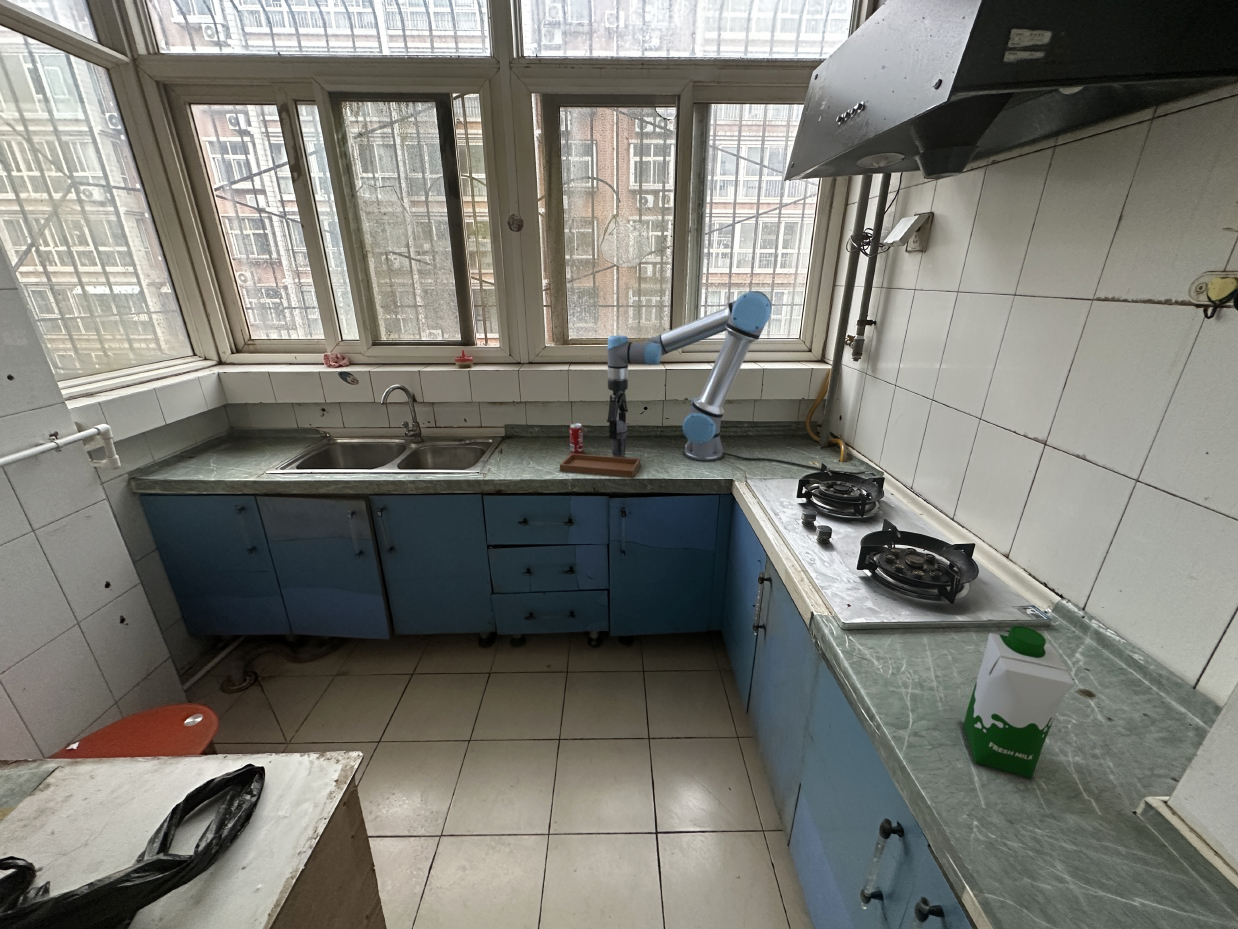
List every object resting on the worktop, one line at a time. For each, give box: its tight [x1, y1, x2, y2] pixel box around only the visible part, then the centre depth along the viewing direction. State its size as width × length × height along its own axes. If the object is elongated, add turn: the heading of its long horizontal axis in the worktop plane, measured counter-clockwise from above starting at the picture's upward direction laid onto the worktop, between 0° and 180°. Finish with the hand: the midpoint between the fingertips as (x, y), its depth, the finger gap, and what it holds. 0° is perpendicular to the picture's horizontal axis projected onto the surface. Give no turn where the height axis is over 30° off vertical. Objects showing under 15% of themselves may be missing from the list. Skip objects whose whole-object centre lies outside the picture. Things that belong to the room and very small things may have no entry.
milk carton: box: [963, 625, 1075, 779], centre depth 72 cm, size 9×9×20 cm
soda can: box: [569, 423, 584, 454], centre depth 200 cm, size 5×5×12 cm
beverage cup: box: [610, 409, 629, 458], centre depth 192 cm, size 7×7×20 cm
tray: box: [559, 452, 641, 478], centre depth 186 cm, size 28×13×3 cm, turn 75°
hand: (617, 433), depth 192 cm, fingers open, 13 cm apart
